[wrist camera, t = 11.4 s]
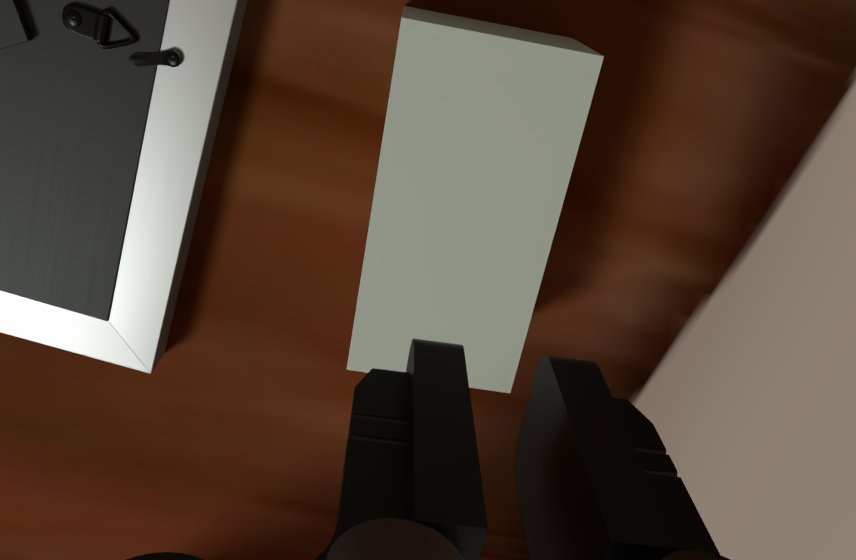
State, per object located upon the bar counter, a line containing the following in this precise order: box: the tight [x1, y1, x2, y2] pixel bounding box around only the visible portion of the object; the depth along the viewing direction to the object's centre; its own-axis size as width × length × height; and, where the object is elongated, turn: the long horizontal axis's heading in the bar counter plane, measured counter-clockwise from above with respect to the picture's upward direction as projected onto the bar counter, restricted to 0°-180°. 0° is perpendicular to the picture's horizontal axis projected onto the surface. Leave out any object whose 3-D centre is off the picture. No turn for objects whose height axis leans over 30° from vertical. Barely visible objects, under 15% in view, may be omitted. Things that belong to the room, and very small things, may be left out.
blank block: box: [347, 6, 604, 393], centre depth 21 cm, size 10×5×4 cm, turn 170°
